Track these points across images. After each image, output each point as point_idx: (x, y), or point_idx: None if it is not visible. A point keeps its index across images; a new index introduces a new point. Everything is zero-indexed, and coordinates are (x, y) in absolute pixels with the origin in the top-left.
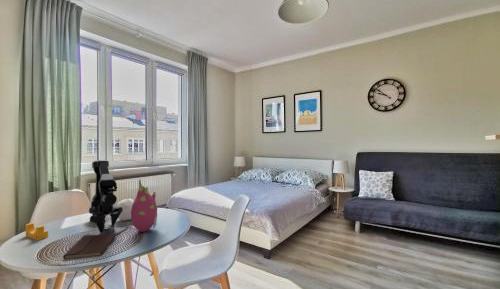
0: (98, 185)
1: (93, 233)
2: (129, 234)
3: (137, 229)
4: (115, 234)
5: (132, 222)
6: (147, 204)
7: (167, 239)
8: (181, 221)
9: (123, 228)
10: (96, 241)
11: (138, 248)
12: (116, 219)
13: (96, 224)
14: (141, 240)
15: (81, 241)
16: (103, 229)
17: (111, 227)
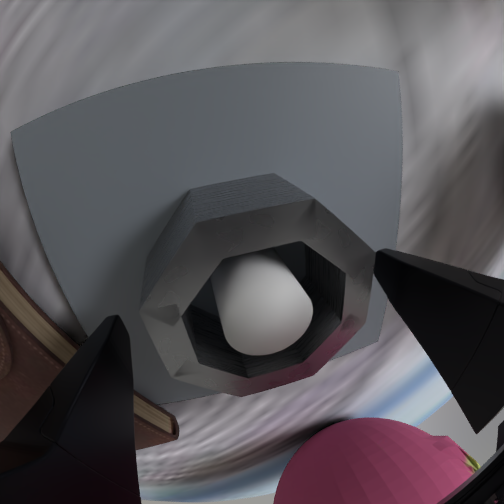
0: None
1: (124, 120)
2: (263, 424)
3: (286, 468)
4: (177, 434)
5: (302, 501)
6: None
7: (251, 495)
8: (423, 417)
9: (364, 332)
10: (15, 417)
11: (148, 493)
12: (438, 356)
13: (13, 433)
14: (210, 479)
15: None
16: (160, 346)
17: (251, 392)
